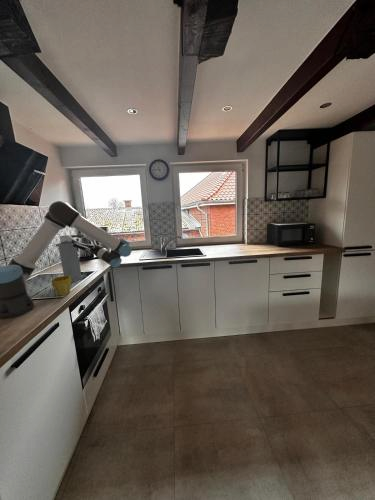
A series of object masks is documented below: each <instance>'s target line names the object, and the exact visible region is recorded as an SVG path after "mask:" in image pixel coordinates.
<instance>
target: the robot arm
mask: <svg viewBox="0 0 375 500" xmlns="http://www.w3.org/2000/svg"><path fill="white" fill-rule="evenodd" d="M43 218H44V222H43V223H42V224H41V226H40V227H39V228H38V230H37V231H35V232H36V233H34V235H33V236H32V238H31V239H30V241H29V242H28V243H27V244H26V246H25V247H24V248H23V250H22V251H21V252H20V253H19V255H18V256H13V258H11V260H10V261H9V263H8V264H7V265H2V266H0V320H1V319H3V320H5V319H11V318H15V317H18V316H21V315H24V314H26V313H29V312H30V311H32V310H33V309H34V308H35V302H34V301H33V300H32V299H33V298H31V296H30V295H29V294H28V292H27V286H26V281H28V280H29V278H30V277H31V275H32V274H33V272H34V271H35V269H36V268H37V266H36V263H37V262H38V260H39V259H40V258H41V256H42V255H43V254H44V253H45V251H46V249H47V248H48V247H49V245H50V244H51V243H52V241H53V240H54V239H55V237H56V236H57V234H58V233H59V232H60V230H63V229H66V228H67V227H68V228H70V229H72V228H74V229H75V230H77V231H78V232H81V233H82V234H83V235H84V238H85V239H87V240H88V241H90V242H91V243H82V242H79V241H78V240H76V239H75V237H74V238H72V237H71V236H70V237H69V241H71V242H72V243H73V244H74V245H73V247H76V248H77V249H79V250H82V251H85V252H87V253H89V251H91V252H92V254H93V255H94V256H96V257H97V258H99V259H100V260H102V261H103V262H104V263H106V264H108V265H109V266H110V267H112V268H115V269H116V268H118V267H119V266H120V265H122V262H123V261H122V258H121V257H124V258H126V257H129V256H130V255H131V254H132V247H131V246H130V242H128V241H127V240H125V239H124V238H123V237H120V238H117V237H116V236H114V235H112V234H111V233H109V232H108V231H106V230H104V229H103V228H101V227H100V226H98V225H96V224H95V223H93V222H92V221H90V220H89V219H86V218H85V217H83V216H82V214H81V212H80V211H79V212H78V211H77V210H76V209H75V208H73V207H72V206H71V205H70V204H69V203H68V202H66V201H61V200H58V201H54V202H53V203H51V204H50V206H49V207H48V211H47V213H46V214H45V215H44V217H43ZM105 247H106V248H105ZM107 248H108V249H107ZM109 249H110V250H109Z"/></svg>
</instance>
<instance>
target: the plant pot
mask: <svg viewBox="0 0 375 500" xmlns="http://www.w3.org/2000/svg"><path fill="white" fill-rule="evenodd" d="M50 281H51V285H52V287H53V288H54V290H55V292H56V294H57V295H58V296H66V295H68V294H70V293H71V283H73V282H72V280H71V276H64V275H61V276H57V277H55V278H52V279H51V280H50ZM65 294H66V295H65Z"/></svg>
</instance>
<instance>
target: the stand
mask: <svg viewBox="0 0 375 500" xmlns="http://www.w3.org/2000/svg"><path fill="white" fill-rule="evenodd" d="M73 245H74V244H73V243H67V244H61V243H60V242H58V243H55V247H56V248H58V250H59V251H58V252H59V257H60V262H61V263H60V264H61V267H62V272H63V276H71V280H72V282H71V283H75V282H77V281H79V280H83V279H85V277H84V275H83V274H82V269H81V263H80V258H79V251H78V248H76V247H73Z"/></svg>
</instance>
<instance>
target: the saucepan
mask: <svg viewBox="0 0 375 500" xmlns="http://www.w3.org/2000/svg"><path fill="white" fill-rule="evenodd" d="M70 236H71V237H72V238H74V239H75V238H85V234H68V235H67V234H66V235H65V234H64V235H60V236H59V243H61V244H67V243H72V242H71V241H69V237H70Z"/></svg>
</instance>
